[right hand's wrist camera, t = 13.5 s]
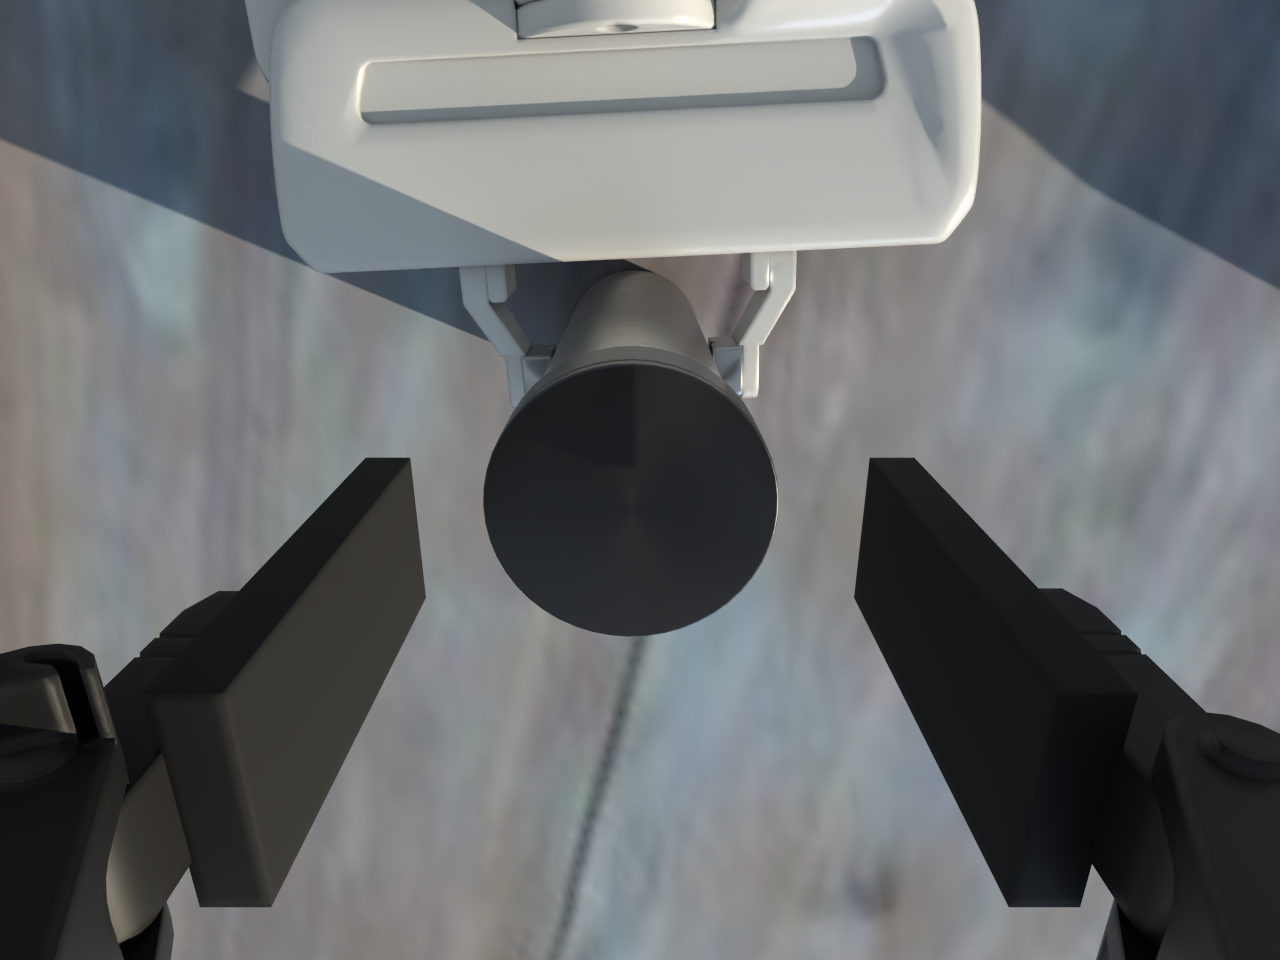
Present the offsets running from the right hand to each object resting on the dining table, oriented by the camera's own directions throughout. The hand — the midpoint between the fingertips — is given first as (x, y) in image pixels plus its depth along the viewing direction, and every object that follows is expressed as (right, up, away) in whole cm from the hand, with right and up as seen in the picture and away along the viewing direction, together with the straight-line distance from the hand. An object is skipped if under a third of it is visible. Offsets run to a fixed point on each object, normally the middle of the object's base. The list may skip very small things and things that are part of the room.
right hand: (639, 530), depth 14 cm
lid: (0, 0, +2) cm, 2 cm away
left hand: (0, +4, +13) cm, 13 cm away
